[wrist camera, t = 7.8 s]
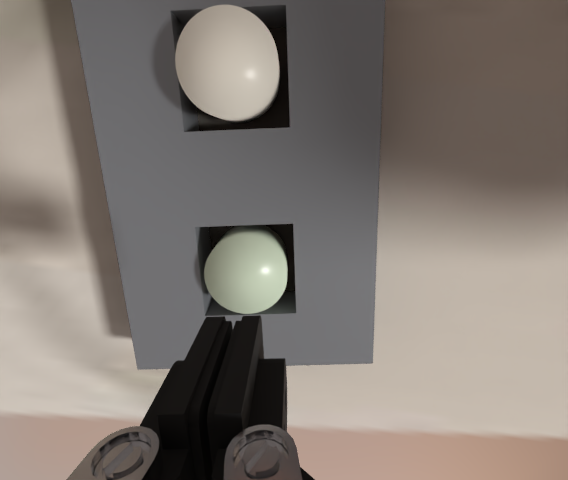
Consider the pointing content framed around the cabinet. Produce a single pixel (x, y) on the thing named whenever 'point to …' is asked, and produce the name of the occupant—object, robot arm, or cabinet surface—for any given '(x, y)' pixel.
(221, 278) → the sage button
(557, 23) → the cabinet surface
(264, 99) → the cream button
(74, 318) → the cabinet surface
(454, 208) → the cabinet surface
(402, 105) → the cabinet surface
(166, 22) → the button panel
